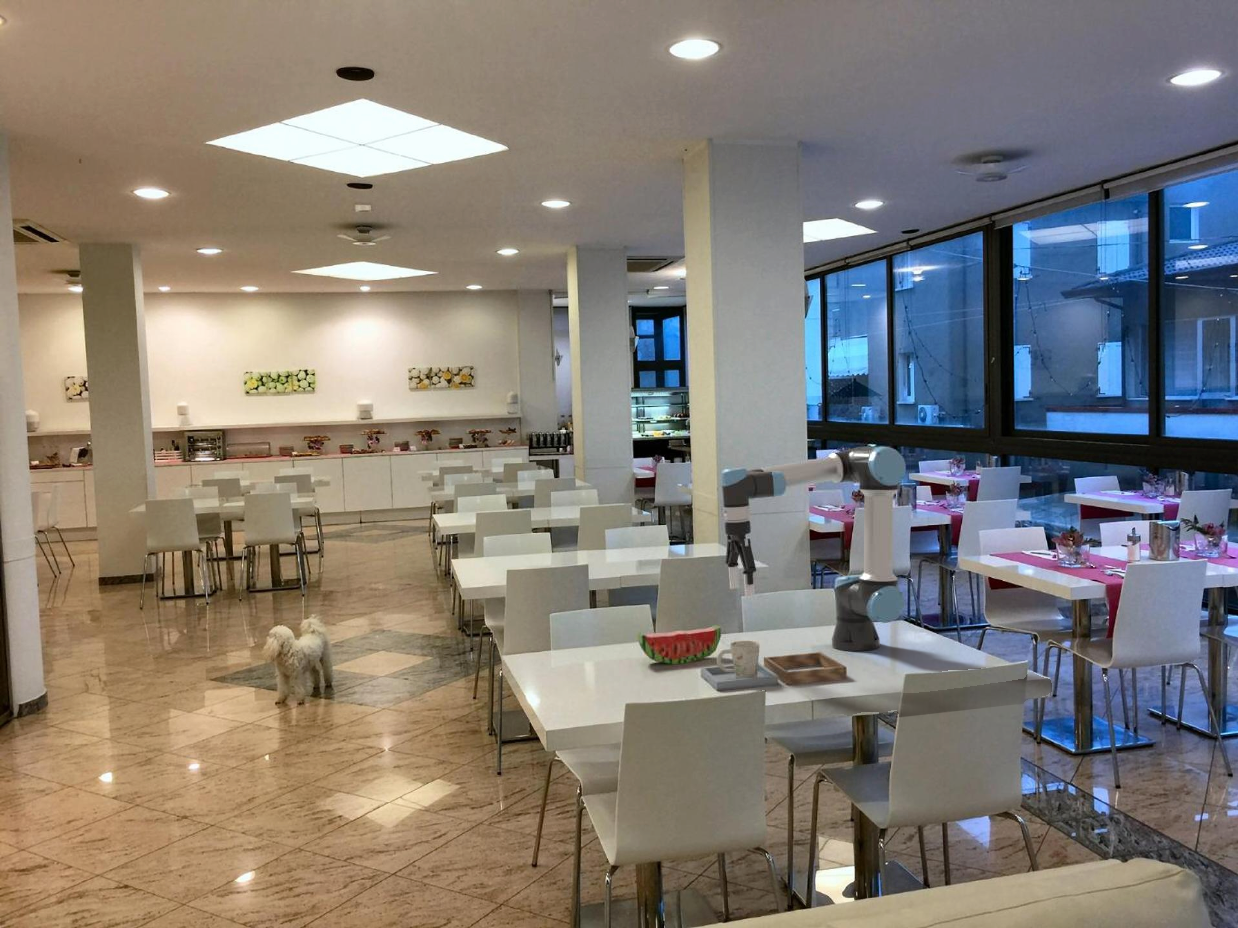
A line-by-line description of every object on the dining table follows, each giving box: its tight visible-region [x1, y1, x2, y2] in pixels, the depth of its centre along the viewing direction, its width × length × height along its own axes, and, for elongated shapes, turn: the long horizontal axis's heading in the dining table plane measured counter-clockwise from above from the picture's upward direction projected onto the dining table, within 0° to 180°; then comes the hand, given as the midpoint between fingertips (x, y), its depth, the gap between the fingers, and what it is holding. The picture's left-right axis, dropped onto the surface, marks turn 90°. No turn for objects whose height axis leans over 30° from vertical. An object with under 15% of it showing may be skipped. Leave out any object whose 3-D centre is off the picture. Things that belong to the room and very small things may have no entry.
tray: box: [700, 661, 779, 692], centre depth 286 cm, size 18×17×2 cm
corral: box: [763, 651, 848, 686], centre depth 290 cm, size 18×20×4 cm
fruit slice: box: [637, 624, 722, 665], centre depth 313 cm, size 26×6×10 cm, turn 103°
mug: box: [716, 640, 760, 679], centre depth 286 cm, size 8×13×10 cm, turn 78°
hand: (742, 591), depth 293 cm, fingers open, 13 cm apart
